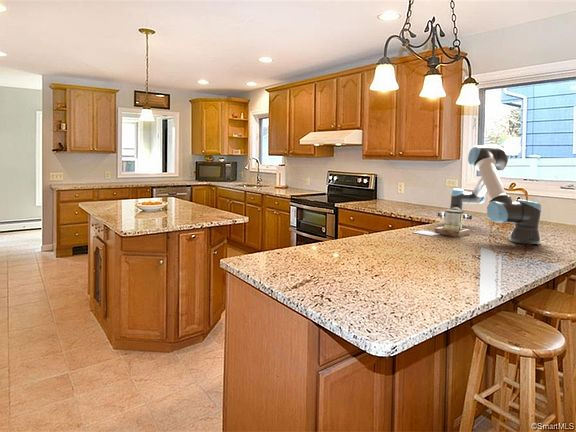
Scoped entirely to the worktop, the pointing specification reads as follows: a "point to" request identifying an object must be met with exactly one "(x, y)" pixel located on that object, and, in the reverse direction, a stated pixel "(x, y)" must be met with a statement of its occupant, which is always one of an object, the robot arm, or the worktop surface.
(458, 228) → the coffee can
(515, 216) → the robot arm
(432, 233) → the rubber mat
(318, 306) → the worktop surface
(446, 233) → the wooden tray
